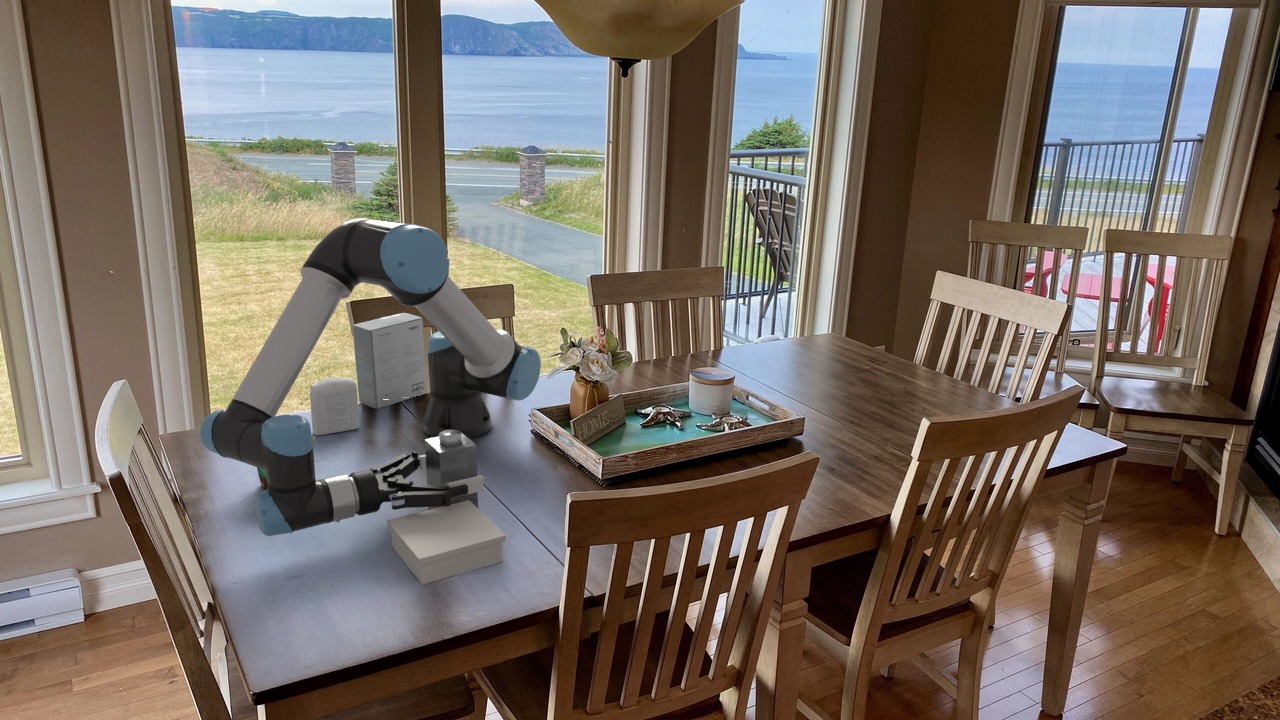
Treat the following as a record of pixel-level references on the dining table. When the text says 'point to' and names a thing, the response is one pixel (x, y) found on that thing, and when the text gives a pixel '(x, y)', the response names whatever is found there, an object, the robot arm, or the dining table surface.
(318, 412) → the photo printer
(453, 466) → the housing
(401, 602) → the dining table surface
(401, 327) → the hard drive box
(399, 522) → the plinth
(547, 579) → the dining table surface
